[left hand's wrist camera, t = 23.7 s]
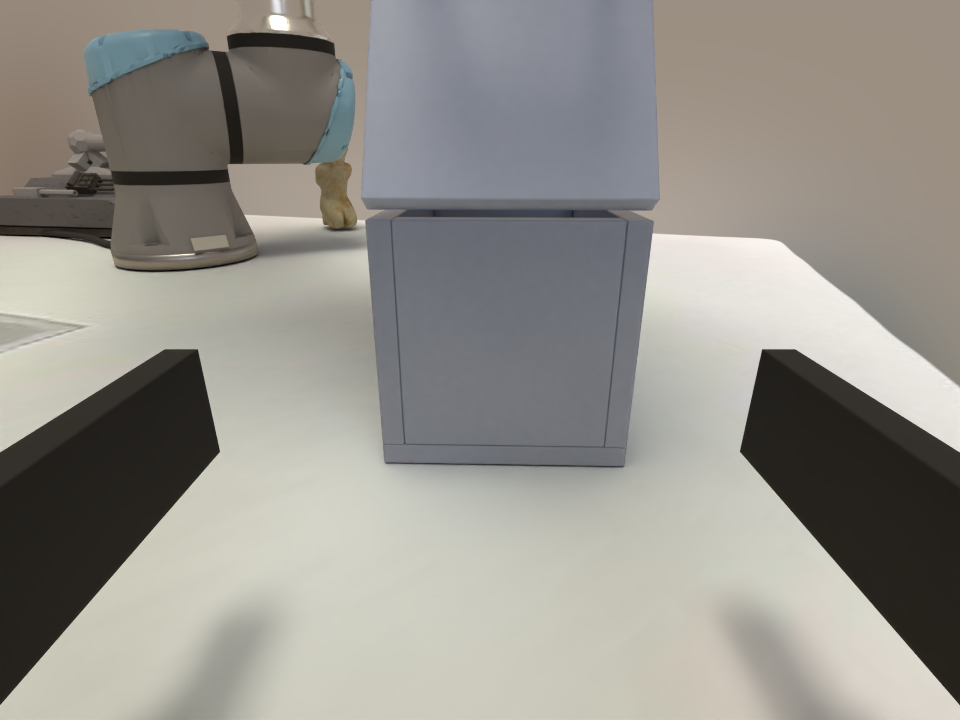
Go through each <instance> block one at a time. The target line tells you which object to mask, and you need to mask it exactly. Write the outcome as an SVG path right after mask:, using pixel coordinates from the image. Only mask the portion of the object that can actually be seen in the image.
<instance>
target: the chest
mask: <svg viewBox="0 0 960 720" xmlns="http://www.w3.org/2000/svg"><path fill="white" fill-rule="evenodd" d="M365 222H366V235H367V248H368V260H369V273H370V285H371V298H372V310H373V323H374V336H375V348H376V361H377V373H378V386H379V398H380V411H381V424H382V436H383V449H384V461H385V462H397V463H458V464H519V465H580V466H624V461H625V453H626V445H627V436H628V428H629V420H630V412H631V404H632V396H633V387H634V379H635V371H636V363H637V355H638V347H639V338H640V330H641V322H642V314H643V306H644V298H645V289H646V281H647V273H648V265H649V257H650V249H651V240H652V232H653V224H654V222H653V221H652V220H650V219H647V218H645V217H643V216H640V215H638V214H636V213H634V212H631V211H629V210H391V209H386V210H384V211H382V212H380V213H378V214H376V215H374V216H372V217H370V218H369V219H367V220H366V221H365Z"/></svg>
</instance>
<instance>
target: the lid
mask: <svg viewBox="0 0 960 720" xmlns="http://www.w3.org/2000/svg"><path fill="white" fill-rule="evenodd" d="M361 199H362V201H363V203H364V204H365V206H366V208H367V209H391V210H652V209H653V208H654V207H655V205H656V204H657V203H658V201H659V199H660V193H659V164H658V136H657V108H656V80H655V51H654V23H653V0H371V7H370V26H369V47H368V67H367V87H366V108H365V128H364V148H363V168H362V188H361Z"/></svg>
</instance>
